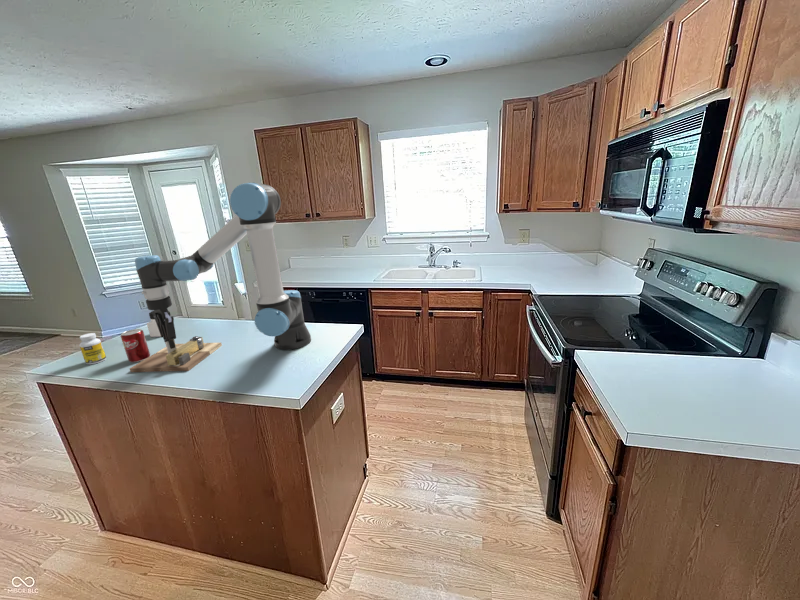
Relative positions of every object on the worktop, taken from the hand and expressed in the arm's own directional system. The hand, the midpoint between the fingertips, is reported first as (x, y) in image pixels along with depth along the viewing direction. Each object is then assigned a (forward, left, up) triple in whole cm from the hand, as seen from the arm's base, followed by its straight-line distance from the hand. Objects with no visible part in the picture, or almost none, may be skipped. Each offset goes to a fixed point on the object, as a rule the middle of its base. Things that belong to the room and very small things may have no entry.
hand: (173, 355), depth 130 cm
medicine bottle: (+29, -31, -4) cm, 43 cm away
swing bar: (-4, -3, -1) cm, 5 cm away
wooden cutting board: (+1, -4, -3) cm, 5 cm away
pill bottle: (+36, -3, -4) cm, 37 cm away
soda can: (+18, -4, -4) cm, 19 cm away
